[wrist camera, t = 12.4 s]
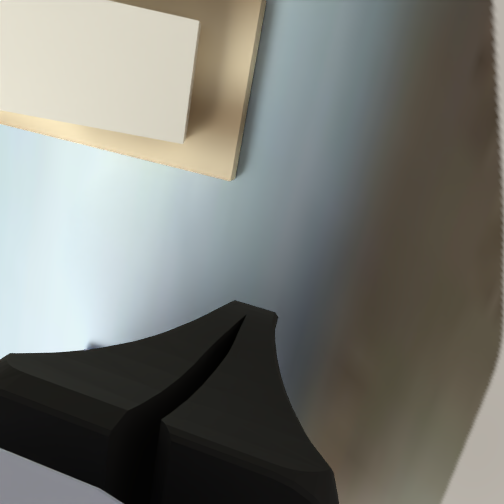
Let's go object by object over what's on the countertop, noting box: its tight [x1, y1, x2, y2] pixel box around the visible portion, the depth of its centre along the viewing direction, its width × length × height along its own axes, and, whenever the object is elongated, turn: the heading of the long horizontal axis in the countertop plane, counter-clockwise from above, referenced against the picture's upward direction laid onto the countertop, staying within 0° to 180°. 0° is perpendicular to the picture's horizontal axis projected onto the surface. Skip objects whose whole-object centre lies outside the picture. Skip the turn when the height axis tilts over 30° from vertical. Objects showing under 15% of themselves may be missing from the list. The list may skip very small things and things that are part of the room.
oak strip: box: [0, 0, 266, 181], centre depth 22 cm, size 8×24×1 cm, turn 79°
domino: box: [0, 0, 201, 144], centre depth 19 cm, size 5×2×8 cm
